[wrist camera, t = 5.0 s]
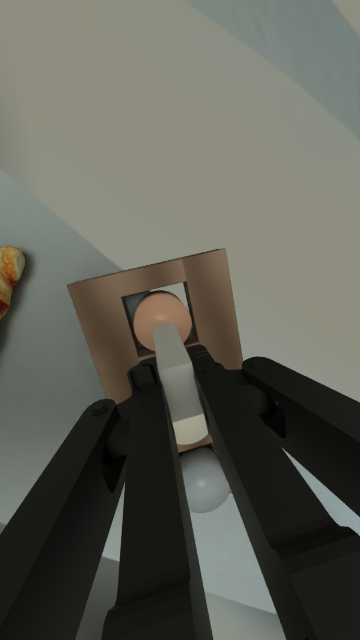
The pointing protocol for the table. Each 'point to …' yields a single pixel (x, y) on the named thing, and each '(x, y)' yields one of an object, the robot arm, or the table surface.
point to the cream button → (190, 429)
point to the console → (117, 331)
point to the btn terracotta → (160, 316)
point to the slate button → (203, 479)
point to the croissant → (9, 274)
